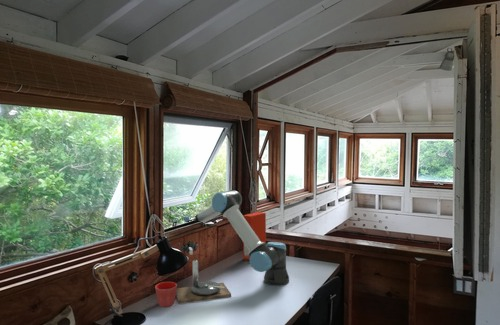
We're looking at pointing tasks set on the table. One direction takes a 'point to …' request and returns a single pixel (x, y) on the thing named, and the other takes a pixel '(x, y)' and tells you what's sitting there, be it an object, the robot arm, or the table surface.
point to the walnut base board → (187, 296)
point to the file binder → (255, 229)
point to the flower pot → (166, 293)
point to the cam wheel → (203, 284)
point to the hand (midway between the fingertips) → (191, 252)
